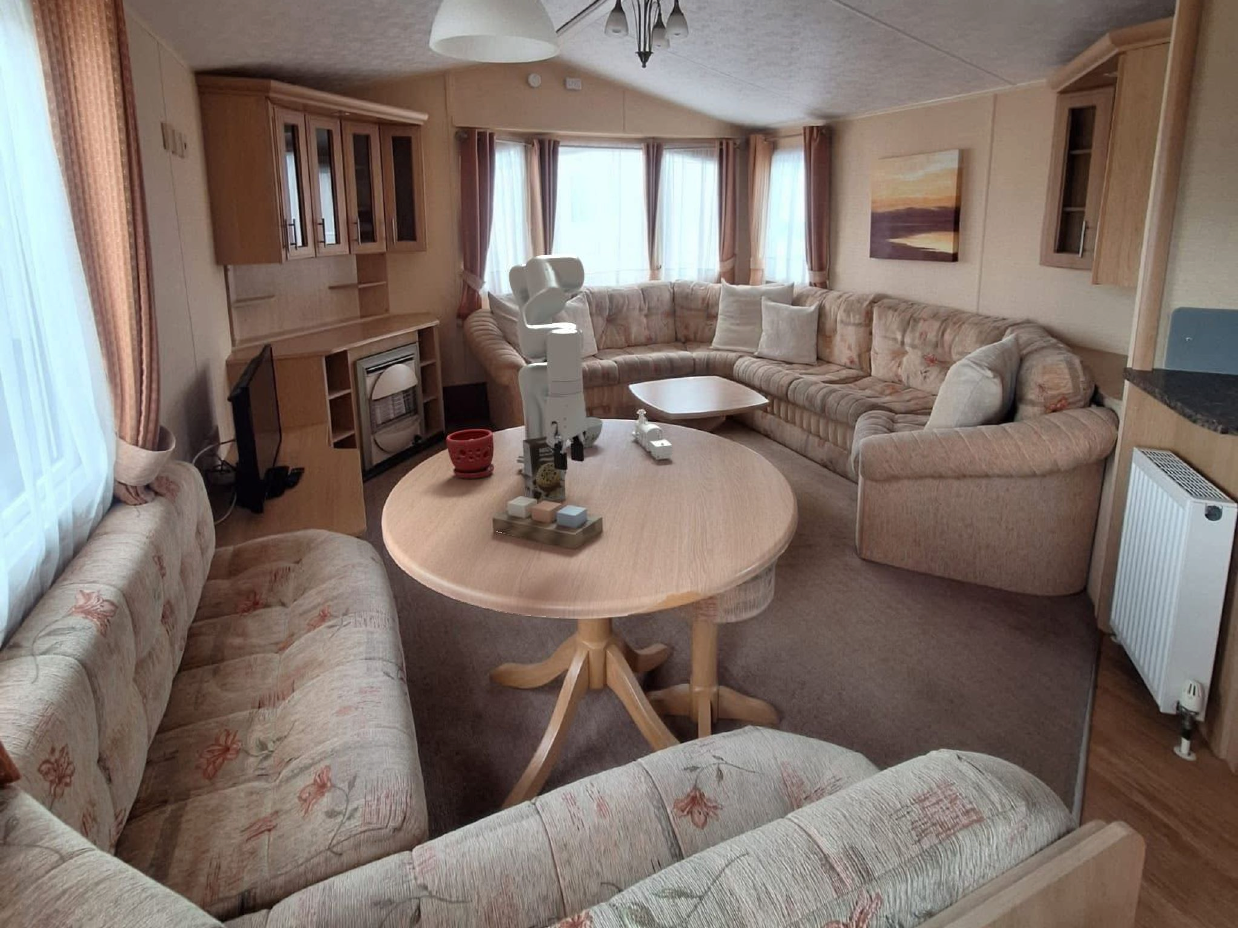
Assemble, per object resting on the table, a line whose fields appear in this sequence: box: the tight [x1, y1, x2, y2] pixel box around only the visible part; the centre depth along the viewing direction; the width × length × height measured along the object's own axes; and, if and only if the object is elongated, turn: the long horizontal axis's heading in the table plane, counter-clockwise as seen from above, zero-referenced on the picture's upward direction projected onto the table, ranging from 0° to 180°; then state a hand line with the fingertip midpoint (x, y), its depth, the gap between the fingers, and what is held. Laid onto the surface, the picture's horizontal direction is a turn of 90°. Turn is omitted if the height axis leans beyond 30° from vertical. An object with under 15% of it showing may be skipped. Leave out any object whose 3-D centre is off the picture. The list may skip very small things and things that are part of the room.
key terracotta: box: [531, 501, 563, 523], centre depth 190 cm, size 5×5×4 cm
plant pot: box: [445, 428, 495, 479], centre depth 232 cm, size 13×13×12 cm
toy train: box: [631, 408, 673, 461], centre depth 253 cm, size 6×30×10 cm, turn 15°
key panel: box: [491, 509, 604, 550], centre depth 191 cm, size 23×12×4 cm, turn 60°
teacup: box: [568, 416, 604, 448], centre depth 259 cm, size 15×12×8 cm
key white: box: [506, 495, 537, 518], centre depth 193 cm, size 5×5×4 cm
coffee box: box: [522, 437, 567, 504], centre depth 210 cm, size 9×6×16 cm
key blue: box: [556, 504, 588, 528], centre depth 187 cm, size 5×5×4 cm
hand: (569, 464), depth 183 cm, fingers open, 6 cm apart
